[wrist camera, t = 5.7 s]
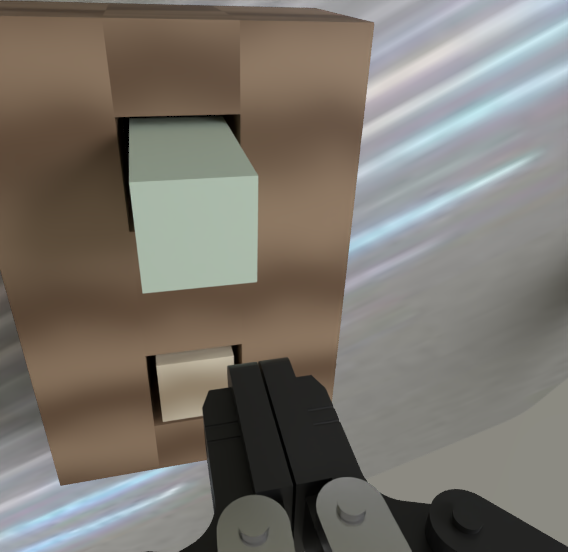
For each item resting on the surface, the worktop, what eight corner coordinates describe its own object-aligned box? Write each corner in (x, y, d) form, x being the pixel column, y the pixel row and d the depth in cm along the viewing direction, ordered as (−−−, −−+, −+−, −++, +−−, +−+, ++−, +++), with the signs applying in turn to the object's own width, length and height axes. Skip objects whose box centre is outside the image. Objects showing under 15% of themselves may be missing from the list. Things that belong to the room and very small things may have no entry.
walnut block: (-16, 0, 24) (-72, 14, 17) (315, 8, 28) (374, 22, 21) (73, 389, 36) (60, 485, 30) (294, 359, 40) (327, 438, 33)
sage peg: (129, 118, 22) (129, 182, 16) (222, 116, 23) (258, 175, 17) (139, 205, 24) (142, 293, 18) (224, 199, 25) (257, 282, 19)
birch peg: (151, 287, 33) (156, 365, 27) (213, 280, 34) (233, 355, 28) (156, 337, 35) (162, 421, 29) (215, 330, 36) (234, 410, 30)
